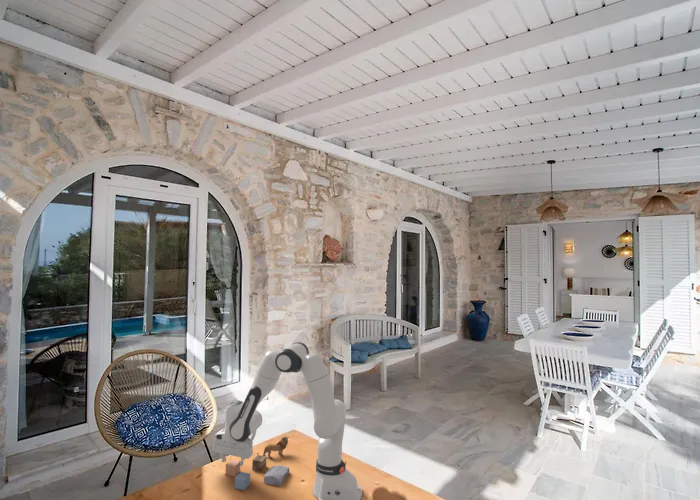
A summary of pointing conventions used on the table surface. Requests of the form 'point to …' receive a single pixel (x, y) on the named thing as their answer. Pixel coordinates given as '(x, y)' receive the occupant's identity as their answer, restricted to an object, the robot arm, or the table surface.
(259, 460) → the walnut cube
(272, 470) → the stone block
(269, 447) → the lion figurine
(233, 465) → the terracotta cube
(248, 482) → the slate-blue cube
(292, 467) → the table surface
